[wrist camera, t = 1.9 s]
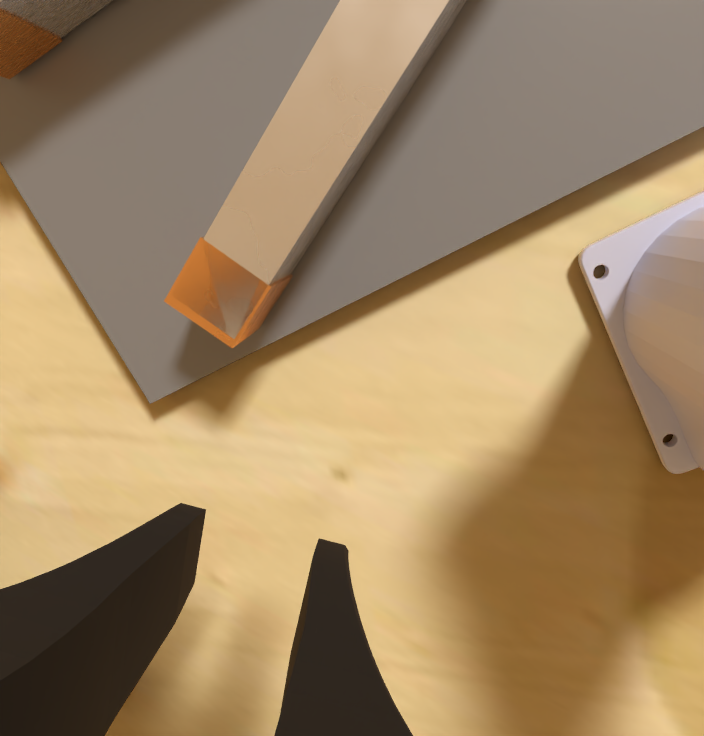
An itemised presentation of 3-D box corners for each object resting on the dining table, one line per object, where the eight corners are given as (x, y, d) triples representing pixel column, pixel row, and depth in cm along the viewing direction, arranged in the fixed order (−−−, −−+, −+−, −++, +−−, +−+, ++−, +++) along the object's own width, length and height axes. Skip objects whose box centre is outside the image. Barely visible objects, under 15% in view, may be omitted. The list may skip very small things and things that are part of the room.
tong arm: (479, -186, 15) (493, -277, 12) (553, -128, 15) (583, -205, 13) (200, 288, 20) (163, 301, 17) (259, 329, 20) (232, 348, 17)
